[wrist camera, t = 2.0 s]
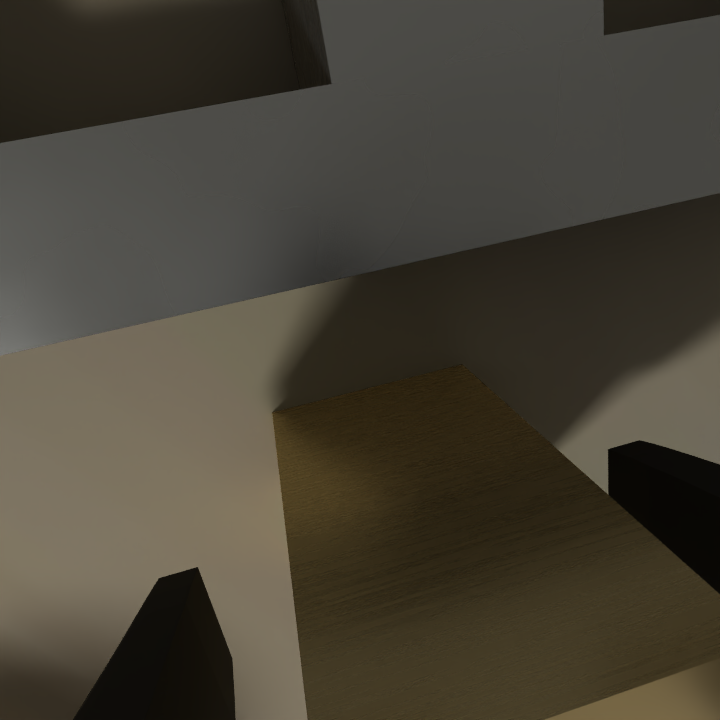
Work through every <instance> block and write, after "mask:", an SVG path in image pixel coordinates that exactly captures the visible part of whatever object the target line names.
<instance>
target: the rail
mask: <svg viewBox="0 0 720 720" xmlns="http://www.w3.org/2000/svg"><path fill="white" fill-rule="evenodd" d="M282 2H283V7H284V12H285V17H286V22H287V27H288V32H289V37H290V42H291V47H292V52H293V57H294V62H295V67H296V72H297V77H298V82H299V87H300V90H295V91H290V92H284V93H278V94H273V95H267V96H261V97H256V98H250V99H245V100H239V101H233V102H228V103H222V104H217V105H211V106H205V107H200V108H194V109H189V110H183V111H177V112H172V113H166V114H161V115H155V116H149V117H144V118H138V119H132V120H127V121H121V122H116V123H110V124H104V125H99V126H93V127H88V128H82V129H76V130H71V131H65V132H60V133H54V134H48V135H43V136H37V137H31V138H26V139H20V140H15V141H9V142H3V143H0V355H5V354H9V353H14V352H18V351H22V350H27V349H31V348H36V347H40V346H45V345H49V344H53V343H58V342H62V341H67V340H71V339H76V338H80V337H84V336H89V335H93V334H98V333H102V332H107V331H111V330H115V329H120V328H124V327H129V326H133V325H138V324H142V323H146V322H151V321H155V320H160V319H164V318H169V317H173V316H177V315H182V314H186V313H191V312H195V311H200V310H204V309H208V308H213V307H217V306H222V305H226V304H231V303H235V302H239V301H244V300H248V299H253V298H257V297H262V296H266V295H270V294H275V293H279V292H284V291H288V290H293V289H297V288H302V287H306V286H310V285H315V284H319V283H324V282H328V281H333V280H337V279H341V278H346V277H350V276H355V275H359V274H364V273H368V272H372V271H377V270H381V269H386V268H390V267H395V266H399V265H403V264H408V263H412V262H417V261H421V260H426V259H430V258H434V257H439V256H443V255H448V254H452V253H457V252H461V251H465V250H470V249H474V248H479V247H483V246H488V245H492V244H496V243H501V242H505V241H510V240H514V239H519V238H523V237H527V236H532V235H536V234H541V233H545V232H550V231H554V230H558V229H563V228H567V227H572V226H576V225H581V224H585V223H589V222H594V221H598V220H603V219H607V218H612V217H616V216H620V215H625V214H629V213H634V212H638V211H643V210H647V209H651V208H656V207H660V206H665V205H669V204H674V203H678V202H683V201H687V200H691V199H696V198H700V197H705V196H709V195H714V194H718V193H720V15H716V16H710V17H705V18H699V19H693V20H688V21H682V22H677V23H671V24H665V25H660V26H654V27H649V28H643V29H637V30H632V31H626V32H620V33H615V34H609V35H604V4H603V0H282Z"/></svg>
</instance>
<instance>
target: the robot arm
mask: <svg viewBox="0 0 720 720" xmlns="http://www.w3.org/2000/svg"><path fill="white" fill-rule="evenodd" d="M608 492H609V496H610V497H611V498H612V499H613V500H615V501H616V502H617V503H618V504H619V505H620V506H621V507H622V508H624V509H625V510H626V511H627V512H628V513H629V514H630V515H631V516H632V517H634V518H635V519H636V520H637V521H638V522H639V523H640V524H641V525H643V526H644V527H645V528H646V529H647V530H648V531H649V532H650V533H652V534H653V535H654V536H655V537H656V538H657V539H658V540H659V541H661V542H662V543H663V544H664V545H665V546H666V547H667V548H668V549H670V550H671V551H672V552H673V553H674V554H675V555H676V556H677V557H678V558H680V559H681V560H682V561H683V562H684V563H685V564H686V565H687V566H689V567H690V568H691V569H692V570H693V571H694V572H695V573H696V574H698V575H699V576H700V577H701V578H702V579H703V580H704V581H705V582H707V583H708V584H709V585H710V586H711V587H712V588H713V589H714V590H716V591H717V592H718V593H719V594H720V465H719V464H716V463H713V462H710V461H707V460H704V459H701V458H698V457H695V456H692V455H689V454H685V453H682V452H679V451H676V450H673V449H669V448H666V447H663V446H659V445H656V444H652V443H648V442H644V441H640V440H639V441H635V442H632V443H628V444H625V445H621V446H618V447H614V448H611V449H608ZM73 720H235V697H234V680H233V662H232V657H231V654H230V651H229V649H228V646H227V643H226V641H225V638H224V635H223V633H222V630H221V628H220V625H219V622H218V620H217V617H216V614H215V612H214V609H213V606H212V604H211V601H210V598H209V596H208V593H207V590H206V588H205V585H204V582H203V580H202V577H201V575H200V572H199V569H198V567H196V568H193V569H190V570H186V571H183V572H179V573H176V574H172V575H169V576H165V577H162V578H159V579H158V581H157V582H156V584H155V585H154V587H153V589H152V590H151V592H150V593H149V595H148V597H147V598H146V600H145V602H144V603H143V605H142V607H141V609H140V610H139V612H138V614H137V615H136V617H135V619H134V620H133V622H132V624H131V626H130V627H129V629H128V631H127V632H126V634H125V636H124V637H123V639H122V641H121V642H120V644H119V646H118V647H117V649H116V651H115V652H114V654H113V656H112V657H111V659H110V661H109V662H108V664H107V666H106V667H105V669H104V671H103V672H102V674H101V675H100V677H99V679H98V680H97V682H96V683H95V685H94V687H93V688H92V690H91V691H90V693H89V695H88V696H87V698H86V699H85V701H84V703H83V704H82V706H81V708H80V709H79V711H78V712H77V714H76V715H75V717H74V719H73Z"/></svg>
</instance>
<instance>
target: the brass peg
mask: <svg viewBox="0 0 720 720" xmlns="http://www.w3.org/2000/svg"><path fill="white" fill-rule="evenodd" d="M272 415H273V424H274V432H275V441H276V449H277V458H278V467H279V475H280V484H281V493H282V501H283V510H284V519H285V527H286V536H287V545H288V553H289V562H290V571H291V579H292V588H293V597H294V605H295V614H296V622H297V631H298V640H299V648H300V657H301V666H302V674H303V683H304V692H305V700H306V709H307V718H308V720H720V594H719V593H718V592H717V591H716V590H714V589H713V588H712V587H711V586H710V585H709V584H708V583H707V582H705V581H704V580H703V579H702V578H701V577H700V576H699V575H698V574H696V573H695V572H694V571H693V570H692V569H691V568H690V567H689V566H687V565H686V564H685V563H684V562H683V561H682V560H681V559H680V558H678V557H677V556H676V555H675V554H674V553H673V552H672V551H671V550H670V549H668V548H667V547H666V546H665V545H664V544H663V543H662V542H661V541H659V540H658V539H657V538H656V537H655V536H654V535H653V534H652V533H650V532H649V531H648V530H647V529H646V528H645V527H644V526H643V525H641V524H640V523H639V522H638V521H637V520H636V519H635V518H634V517H632V516H631V515H630V514H629V513H628V512H627V511H626V510H625V509H624V508H622V507H621V506H620V505H619V504H618V503H617V502H616V501H615V500H613V499H612V498H611V497H610V496H609V495H608V494H607V493H606V492H604V491H603V490H602V489H601V488H600V487H599V486H598V485H597V484H595V483H594V482H593V481H592V480H591V479H590V478H589V477H588V476H587V475H585V474H584V473H583V472H582V471H581V470H580V469H579V468H578V467H576V466H575V465H574V464H573V463H572V462H571V461H570V460H569V459H567V458H566V457H565V456H564V455H563V454H562V453H561V452H560V451H558V450H557V449H556V448H555V447H554V446H553V445H552V444H551V443H549V442H548V441H547V440H546V439H545V438H544V437H543V436H542V435H541V434H539V433H538V432H537V431H536V430H535V429H534V428H533V427H532V426H530V425H529V424H528V423H527V422H526V421H525V420H524V419H523V418H521V417H520V416H519V415H518V414H517V413H516V412H515V411H514V410H512V409H511V408H510V407H509V406H508V405H507V404H506V403H505V402H504V401H502V400H501V399H500V398H499V397H498V396H497V395H496V394H495V393H493V392H492V391H491V390H490V389H489V388H488V387H487V386H486V385H484V384H483V383H482V382H481V381H480V380H479V379H478V378H477V377H475V376H474V375H473V374H472V373H471V372H470V371H469V370H468V369H466V368H465V367H464V366H463V365H458V366H454V367H450V368H446V369H442V370H438V371H434V372H430V373H426V374H422V375H418V376H414V377H411V378H407V379H403V380H399V381H395V382H391V383H387V384H383V385H379V386H375V387H371V388H367V389H363V390H359V391H355V392H351V393H348V394H344V395H340V396H336V397H332V398H328V399H324V400H320V401H316V402H312V403H308V404H304V405H300V406H296V407H292V408H288V409H284V410H281V411H277V412H273V413H272Z"/></svg>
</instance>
